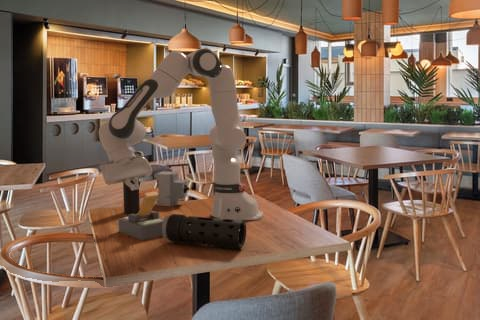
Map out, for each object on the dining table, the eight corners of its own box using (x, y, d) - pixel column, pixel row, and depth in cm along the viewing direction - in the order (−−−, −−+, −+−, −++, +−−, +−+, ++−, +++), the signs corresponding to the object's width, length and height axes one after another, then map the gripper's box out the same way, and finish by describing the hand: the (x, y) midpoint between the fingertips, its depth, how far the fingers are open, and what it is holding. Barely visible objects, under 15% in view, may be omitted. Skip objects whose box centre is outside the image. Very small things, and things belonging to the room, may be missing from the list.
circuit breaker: (186, 206, 237) (185, 174, 235) (157, 205, 240) (156, 173, 238) (191, 203, 245) (190, 172, 243) (162, 202, 247) (162, 171, 245)
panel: (118, 231, 195) (118, 212, 194) (145, 225, 203) (145, 207, 202) (141, 240, 184) (141, 219, 183) (169, 234, 192) (169, 214, 191)
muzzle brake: (237, 254, 169) (237, 223, 167) (161, 246, 177) (160, 216, 176) (246, 245, 178) (246, 216, 176) (173, 238, 186) (172, 210, 185)
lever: (135, 217, 192) (144, 193, 186) (147, 214, 196) (156, 191, 190) (138, 220, 191) (146, 196, 185) (149, 218, 194) (159, 194, 188)
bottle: (136, 210, 231) (135, 166, 228) (142, 213, 225) (140, 167, 222) (121, 211, 227) (120, 167, 225) (127, 215, 221) (125, 169, 219)
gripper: (100, 158, 193) (115, 190, 189) (146, 151, 207) (160, 180, 203) (94, 167, 197) (108, 198, 193) (139, 159, 211) (153, 188, 207)
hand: (135, 189), depth 198 cm, fingers closed
